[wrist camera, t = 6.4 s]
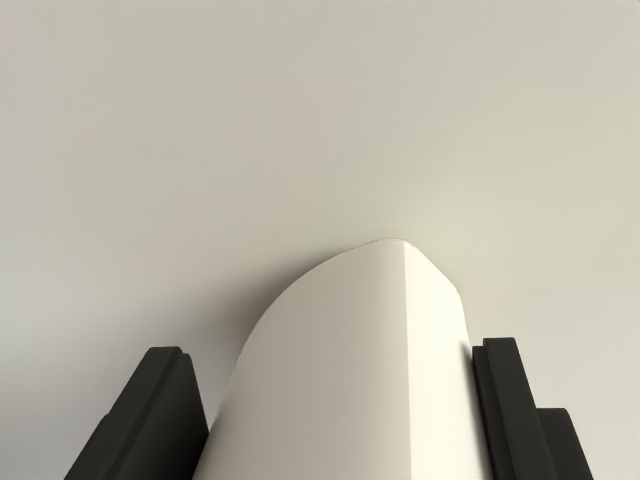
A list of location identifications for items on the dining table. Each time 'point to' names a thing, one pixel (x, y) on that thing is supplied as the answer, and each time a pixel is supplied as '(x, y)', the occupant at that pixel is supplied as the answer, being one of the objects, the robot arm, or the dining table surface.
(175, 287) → the dining table surface
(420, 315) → the eye dropper bottle
